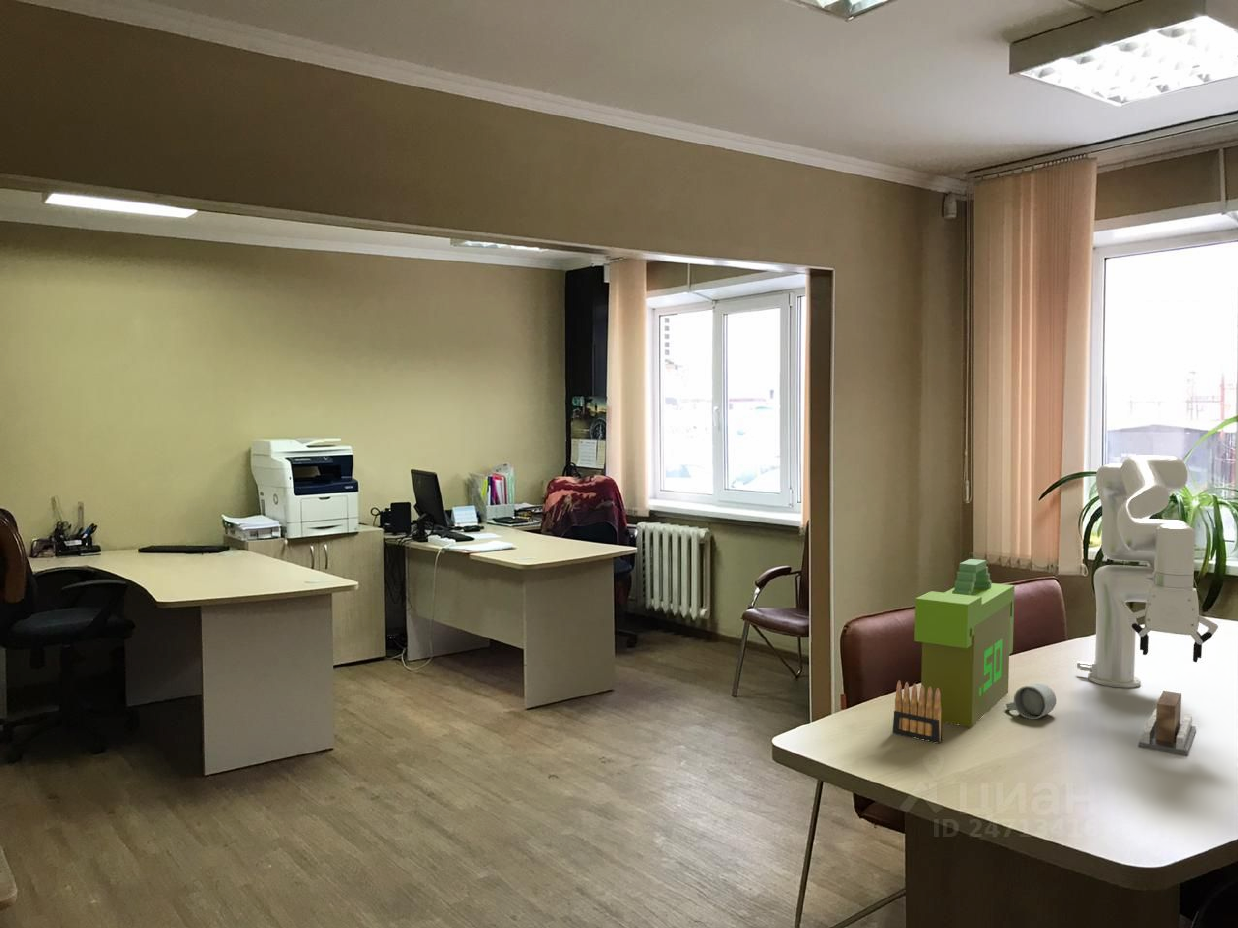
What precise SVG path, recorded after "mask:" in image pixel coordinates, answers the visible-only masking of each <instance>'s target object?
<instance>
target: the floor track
mask: <svg viewBox="0 0 1238 928" xmlns="http://www.w3.org/2000/svg"><path fill="white" fill-rule="evenodd" d="M1156 711H1157V708H1155V709H1153V712H1152V714H1151V716H1150V718H1149V720H1148V722H1147V723H1146V726H1145V727H1144V730H1143V733H1142V735H1141V737H1140V739H1139V741H1138V748H1145V749H1149V750H1154V751H1161V752H1166V753H1171V754H1176V755H1183V756H1188V754H1189V751H1190V748H1191V745H1192V742H1193V740H1194V737H1195V733H1196V729H1197V728H1196V725H1192V724H1193V714H1188V713H1185V716H1184V718H1183V721H1182V723H1180V729H1179V732H1178V734H1177V737H1176V739H1175V742H1174V743H1172V742H1167V741H1161V740H1155V739H1156Z"/></svg>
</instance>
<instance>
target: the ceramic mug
mask: <svg viewBox="0 0 1238 928" xmlns="http://www.w3.org/2000/svg"><path fill="white" fill-rule="evenodd" d="M1056 706H1057V696H1056V693H1055V691H1054V690H1053V689H1052V688H1051V687H1050V686H1048V685H1046V684H1044V683H1033V684H1029V685H1024V686H1021V687H1020V688H1018V689H1017V690H1016V692H1015V694H1014V695H1013V701H1011V702H1008V703H1006V704H1005V707H1006V709H1007V711H1014V710H1016V711H1017V713H1018V714H1019V715H1020V716H1022V717H1024V718H1025V717H1026V719H1027V718H1029V719H1028V720H1038V719H1040V718H1042V717H1043V716H1045V715H1048V714H1050V713H1051V712H1052V711H1053V710H1054V709H1055V708H1056Z"/></svg>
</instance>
